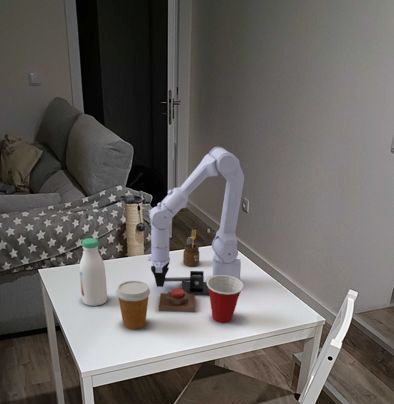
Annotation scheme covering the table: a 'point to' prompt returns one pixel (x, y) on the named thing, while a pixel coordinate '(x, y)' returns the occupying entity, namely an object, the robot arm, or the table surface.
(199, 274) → the lever
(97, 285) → the milk bottle
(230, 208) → the robot arm
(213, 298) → the plastic cup
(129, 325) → the disposable coffee cup
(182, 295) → the button
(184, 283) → the bracket
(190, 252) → the utensil holder
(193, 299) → the button block
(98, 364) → the table surface
